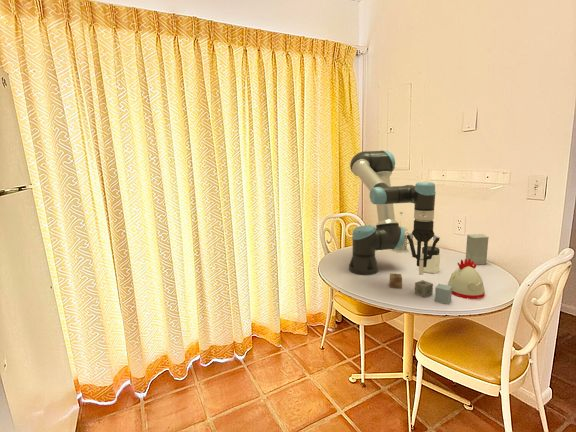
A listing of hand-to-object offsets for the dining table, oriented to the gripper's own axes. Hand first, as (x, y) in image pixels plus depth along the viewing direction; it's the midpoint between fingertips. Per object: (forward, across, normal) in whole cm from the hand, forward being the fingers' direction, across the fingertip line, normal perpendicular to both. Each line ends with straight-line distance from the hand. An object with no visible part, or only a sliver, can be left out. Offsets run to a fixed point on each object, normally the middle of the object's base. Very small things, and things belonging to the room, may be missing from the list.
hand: (421, 273), depth 129 cm
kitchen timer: (+9, +17, +10) cm, 22 cm away
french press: (+9, -18, +61) cm, 64 cm away
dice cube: (+9, +1, 0) cm, 9 cm away
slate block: (+9, +9, -3) cm, 13 cm away
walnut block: (+9, -11, +4) cm, 15 cm away
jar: (+9, +1, +31) cm, 32 cm away
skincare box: (+9, +22, +53) cm, 58 cm away
